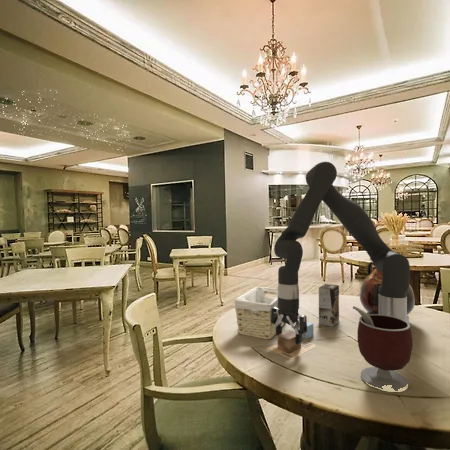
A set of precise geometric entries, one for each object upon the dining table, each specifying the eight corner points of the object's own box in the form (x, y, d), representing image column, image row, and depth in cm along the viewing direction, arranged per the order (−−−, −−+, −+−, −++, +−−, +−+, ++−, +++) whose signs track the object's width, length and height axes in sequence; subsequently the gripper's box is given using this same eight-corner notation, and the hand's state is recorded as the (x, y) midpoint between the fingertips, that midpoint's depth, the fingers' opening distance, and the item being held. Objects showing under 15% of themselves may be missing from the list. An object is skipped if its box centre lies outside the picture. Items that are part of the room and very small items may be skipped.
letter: (317, 346, 109) (317, 345, 109) (291, 359, 99) (291, 359, 99) (292, 336, 117) (292, 336, 117) (266, 348, 107) (266, 348, 107)
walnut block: (301, 347, 107) (300, 334, 107) (289, 353, 103) (288, 339, 103) (289, 343, 111) (289, 330, 111) (277, 349, 107) (277, 335, 106)
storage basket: (271, 342, 113) (270, 303, 112) (233, 335, 121) (232, 298, 120) (289, 321, 134) (289, 289, 133) (256, 316, 141) (255, 285, 141)
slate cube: (313, 336, 118) (313, 323, 118) (306, 339, 114) (306, 326, 114) (302, 332, 122) (302, 320, 121) (295, 335, 118) (295, 323, 118)
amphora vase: (426, 324, 126) (427, 259, 125) (390, 333, 118) (389, 263, 117) (383, 310, 146) (382, 253, 145) (349, 316, 138) (348, 256, 137)
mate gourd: (416, 378, 86) (416, 310, 86) (406, 401, 76) (406, 324, 75) (360, 361, 97) (360, 300, 96) (345, 380, 86) (344, 311, 86)
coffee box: (333, 327, 126) (333, 289, 126) (318, 324, 130) (317, 287, 129) (339, 320, 133) (339, 285, 133) (325, 317, 137) (325, 283, 137)
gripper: (311, 297, 104) (311, 343, 104) (279, 289, 114) (279, 331, 115) (298, 301, 99) (298, 350, 99) (266, 293, 110) (266, 336, 110)
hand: (288, 340), depth 107 cm, fingers open, 8 cm apart
